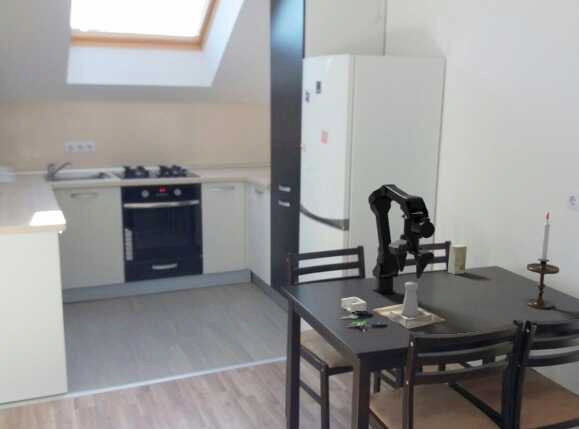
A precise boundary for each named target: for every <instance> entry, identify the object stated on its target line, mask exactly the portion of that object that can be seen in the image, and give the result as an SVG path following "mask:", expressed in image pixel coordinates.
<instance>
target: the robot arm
mask: <svg viewBox="0 0 579 429" xmlns="http://www.w3.org/2000/svg"><path fill="white" fill-rule="evenodd" d="M367 201H368V204H369V208H370V211H371V212H372V213H373V214H374V216H375V223H376V231H377V239H378V240H377V241H378V247H379V253H378V256H377V258H376V264H375V266H374V268H372V276H373V277H374V278H376V288H373V290H372V291H374V292H376V293H378V294H380V295H390V294H391V295H392V294H396V293H397V291H396V290H394V278H398V276H399V273H402V272H404V269H405V265H406V263H407V262H406V261H407V258H408V254H409V255H412V256H413V258H414V260H413V262H414V263H415V274H416V275H415V276H416V279H420V278H421V276H422V275H423V272H424V271H425V269H426V268H427V266H428V265H429V263H432V261H435V254H434V253H433V251H430V250H426V249H425V250H424V249H423V247H422V246H420V243H421V242H420V241H421V239H423V238H424V239H430V238H431V237H432V236H434V234H435V231H436V228H435V225H434V224H433V222H432V221H431V218H430V216H429V215H430V214H429V213H430V212H429V210H428V208H427V205H426V203H425V201H424V199H423V197H422V196H418V195H414V194H413V195H411V194H408V193H407V192H406V191H404V190H402V189H400V188H399V187H398V186H396V184H393V183H388V184H383V185H382V184H381V186H380V187H379V188H377V189H375V190H373V191H372V192H371V194H369V196H368V200H367ZM392 202H395V203H397V204H398V205H399V209H400V210H401V211H402V212H403V214H402V215H401V218H403V233H402V234H400V236H399V239H398V240H395V241H393V242H392V238H391V237H392V236H391V229H390V227H391V226H390V220H389V212H390V210H391V208H392ZM422 249H423V250H422Z"/></svg>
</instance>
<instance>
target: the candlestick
mask: <svg viewBox="0 0 579 429" xmlns="http://www.w3.org/2000/svg"><path fill="white" fill-rule="evenodd" d="M545 217H546V218H545V219H546V221H545V222H544V223H543V234H542V242H541V245H542V246H541V256H540V258H538V259H537V261H539V262H540V263H538V262H537V263H528V264H527V265H526V270H528V271H529V272H532V273H536V274H539V275H540V276H539V283H537V288H538V290H537V291H536V292H537V293H538V297H537V298H530V299H529V298H528V299H527V300H526V305H527V306H528V307H530V306H531V308H533V307H534V308H533V309H537V308H539V309H540V310H549V309H548V308H551V309H553V308H552V307H554V304H553V302H551V301H550V300H546V299H544V298H543V294H545V291H544V289H545V288H546V284H545V282H544V281H545V275H557V274H559V273H560V268H559V267H558V266H557V265H554V264H553V265H552V264H548V263H549V262H550V260H549V259H547V258H548V248H549V239H550V238H549V237H550V227H551V226H550V225H551V224H550V223H549V218H550V213H549V211H547V215H546V216H545ZM539 309H538V310H539Z"/></svg>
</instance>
